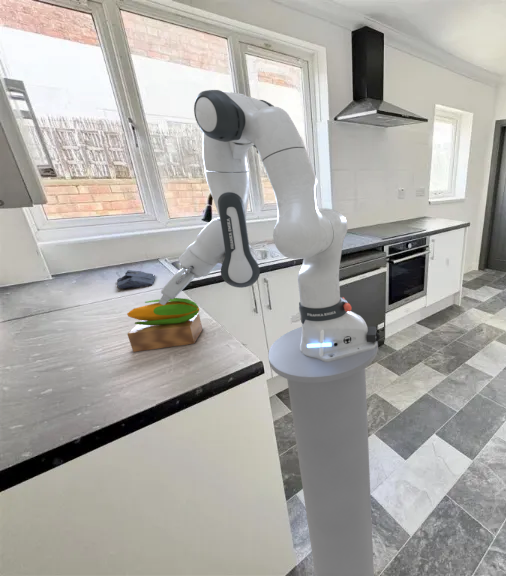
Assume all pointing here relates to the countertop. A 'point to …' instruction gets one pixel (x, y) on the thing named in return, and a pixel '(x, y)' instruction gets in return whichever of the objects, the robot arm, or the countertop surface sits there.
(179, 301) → the corn
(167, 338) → the block
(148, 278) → the dark slate chunk
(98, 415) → the countertop surface
